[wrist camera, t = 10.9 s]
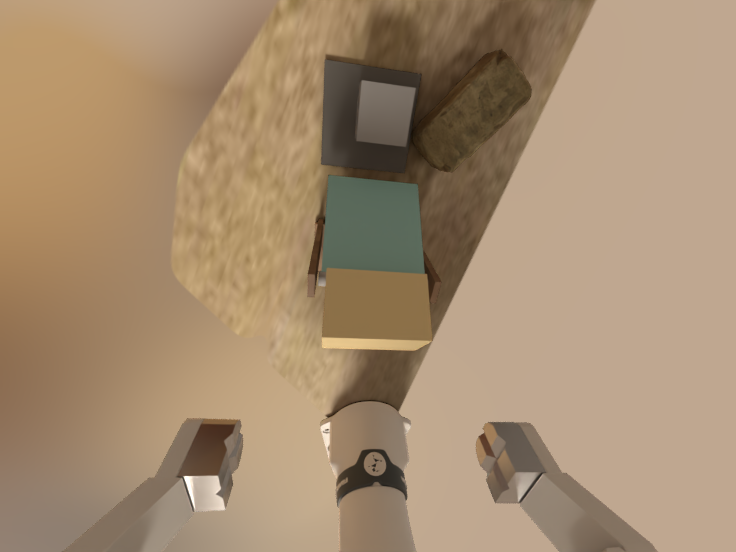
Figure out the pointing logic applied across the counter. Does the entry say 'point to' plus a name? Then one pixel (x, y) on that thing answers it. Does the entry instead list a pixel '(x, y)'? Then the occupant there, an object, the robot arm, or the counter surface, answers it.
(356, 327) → the trapdoor
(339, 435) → the robot arm
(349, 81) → the rubber mat
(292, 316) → the counter surface
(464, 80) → the stone block
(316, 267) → the trapdoor frame
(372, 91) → the stone cube
